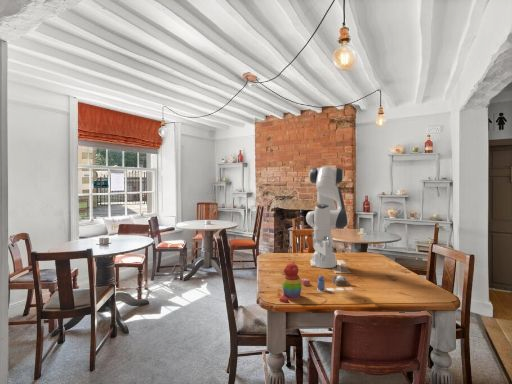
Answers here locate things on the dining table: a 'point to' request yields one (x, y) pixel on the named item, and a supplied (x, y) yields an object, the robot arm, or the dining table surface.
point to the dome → (339, 278)
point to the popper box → (340, 281)
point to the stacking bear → (291, 283)
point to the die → (305, 282)
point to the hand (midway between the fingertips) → (322, 261)
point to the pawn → (321, 283)
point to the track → (336, 289)
